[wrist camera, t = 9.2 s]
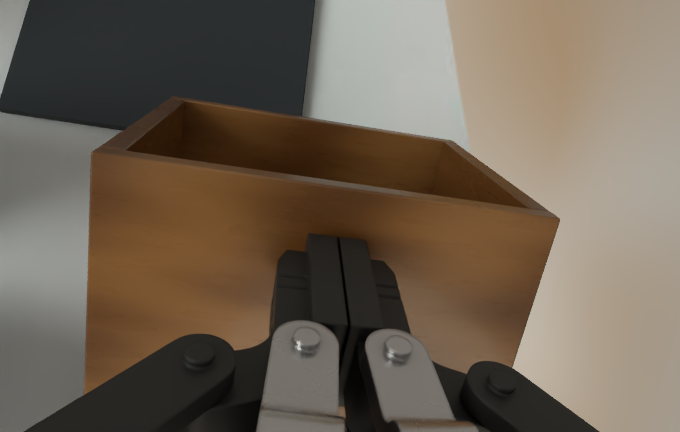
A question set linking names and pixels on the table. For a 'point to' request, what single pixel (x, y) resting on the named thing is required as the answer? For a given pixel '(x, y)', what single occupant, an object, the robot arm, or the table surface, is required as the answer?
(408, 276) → the wooden box
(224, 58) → the mat
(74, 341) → the table surface
